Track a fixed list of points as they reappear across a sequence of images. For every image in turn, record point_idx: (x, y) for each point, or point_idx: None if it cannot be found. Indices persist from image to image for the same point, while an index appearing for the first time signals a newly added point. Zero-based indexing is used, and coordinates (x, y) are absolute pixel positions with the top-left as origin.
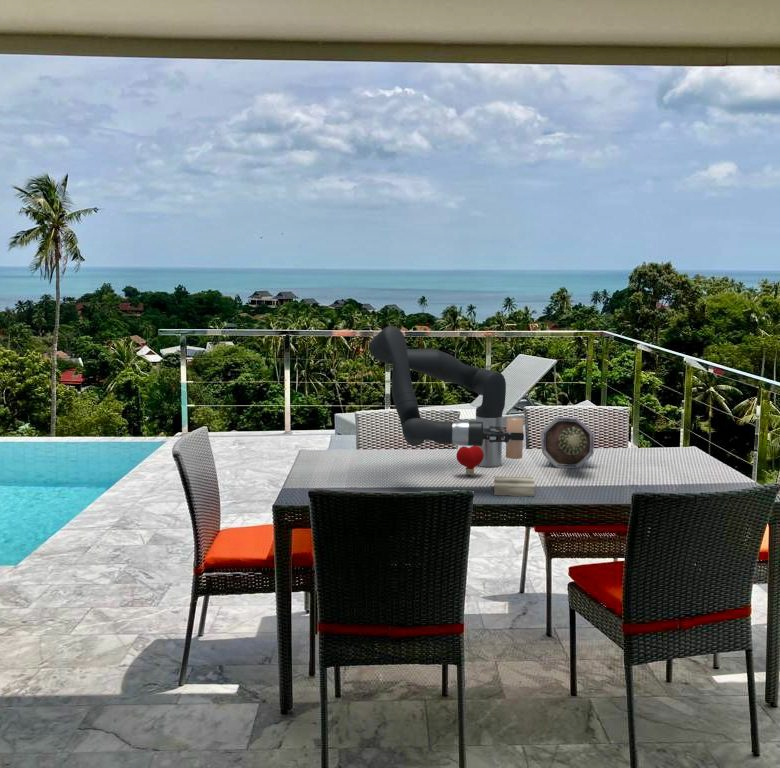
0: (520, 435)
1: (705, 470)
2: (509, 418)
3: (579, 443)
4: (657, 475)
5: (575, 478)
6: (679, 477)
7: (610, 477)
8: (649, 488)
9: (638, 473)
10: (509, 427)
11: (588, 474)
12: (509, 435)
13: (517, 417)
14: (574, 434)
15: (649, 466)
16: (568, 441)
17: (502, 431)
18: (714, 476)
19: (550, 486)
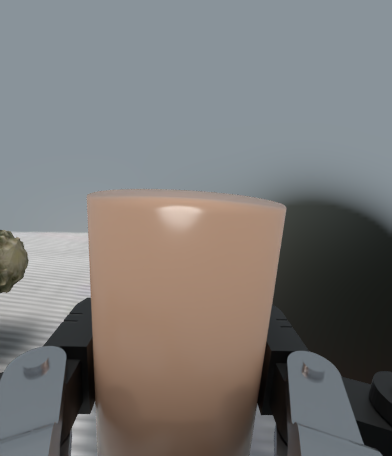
0: (279, 313)
1: (63, 240)
2: (194, 206)
3: (26, 259)
4: (68, 264)
5: (26, 349)
6: (87, 254)
7: (52, 300)
8: None
9: (44, 274)
10: (263, 316)
11: (3, 324)
12: (364, 385)
13: (116, 190)
14: (8, 240)
15: None
16: (4, 266)
17: (376, 453)
18: None
19: (95, 419)
